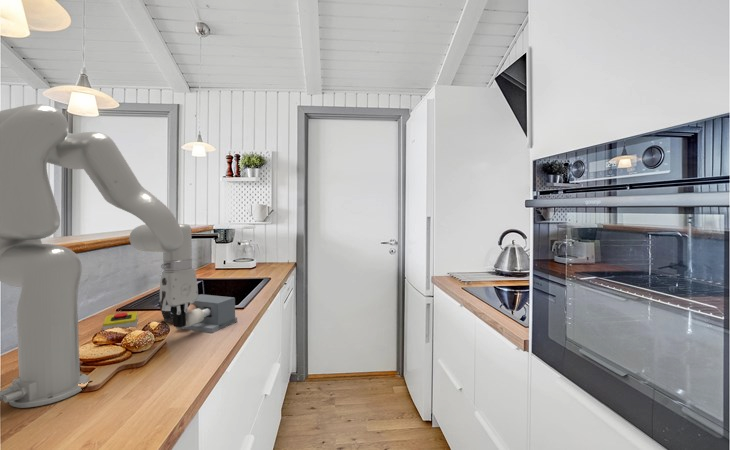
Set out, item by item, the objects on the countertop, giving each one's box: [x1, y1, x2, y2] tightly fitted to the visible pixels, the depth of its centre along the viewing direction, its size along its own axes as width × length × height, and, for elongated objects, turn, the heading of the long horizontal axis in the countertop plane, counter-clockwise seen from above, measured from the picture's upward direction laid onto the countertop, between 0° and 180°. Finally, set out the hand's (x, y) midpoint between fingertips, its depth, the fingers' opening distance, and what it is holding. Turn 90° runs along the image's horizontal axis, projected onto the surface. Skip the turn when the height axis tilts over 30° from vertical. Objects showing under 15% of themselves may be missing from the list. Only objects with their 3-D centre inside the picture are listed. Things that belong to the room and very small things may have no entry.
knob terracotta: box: [187, 304, 197, 312], centre depth 116 cm, size 12×4×4 cm, turn 161°
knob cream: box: [185, 307, 211, 327], centre depth 111 cm, size 12×4×4 cm, turn 161°
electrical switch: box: [157, 299, 173, 324], centre depth 121 cm, size 9×5×9 cm, turn 57°
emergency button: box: [102, 311, 139, 331], centre depth 117 cm, size 9×4×15 cm
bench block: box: [175, 293, 238, 334], centre depth 117 cm, size 12×15×9 cm
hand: (179, 326), depth 103 cm, fingers closed
